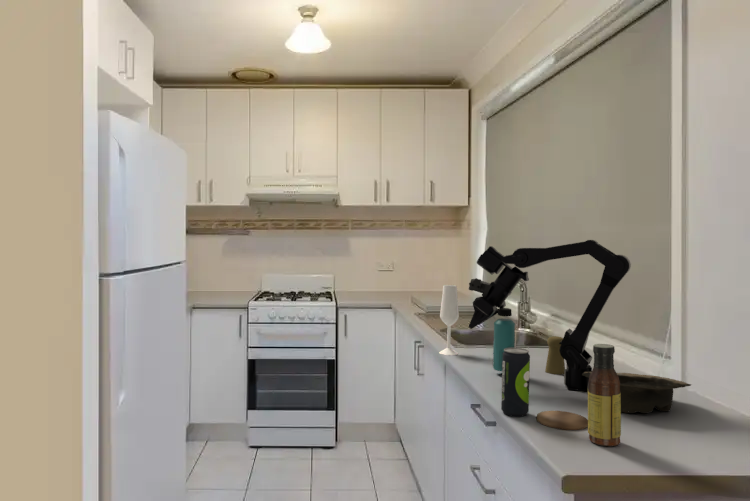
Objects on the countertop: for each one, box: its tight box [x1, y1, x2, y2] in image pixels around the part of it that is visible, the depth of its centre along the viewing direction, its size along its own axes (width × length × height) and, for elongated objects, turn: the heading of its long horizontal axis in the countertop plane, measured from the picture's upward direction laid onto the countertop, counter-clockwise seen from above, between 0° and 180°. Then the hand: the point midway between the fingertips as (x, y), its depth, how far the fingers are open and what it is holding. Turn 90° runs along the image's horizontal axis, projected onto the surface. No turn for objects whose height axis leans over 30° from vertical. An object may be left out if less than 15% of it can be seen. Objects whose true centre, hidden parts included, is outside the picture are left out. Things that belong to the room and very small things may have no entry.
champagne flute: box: [438, 284, 460, 356], centre depth 202 cm, size 7×7×24 cm
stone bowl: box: [582, 371, 692, 414], centre depth 143 cm, size 25×25×9 cm
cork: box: [545, 335, 566, 375], centre depth 176 cm, size 6×6×11 cm
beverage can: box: [500, 347, 531, 418], centre depth 134 cm, size 6×6×15 cm
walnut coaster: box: [536, 410, 588, 431], centre depth 128 cm, size 11×11×1 cm
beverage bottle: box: [492, 307, 516, 372], centre depth 172 cm, size 6×7×20 cm
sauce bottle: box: [587, 343, 622, 447], centre depth 116 cm, size 6×6×20 cm
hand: (473, 325), depth 171 cm, fingers open, 9 cm apart
